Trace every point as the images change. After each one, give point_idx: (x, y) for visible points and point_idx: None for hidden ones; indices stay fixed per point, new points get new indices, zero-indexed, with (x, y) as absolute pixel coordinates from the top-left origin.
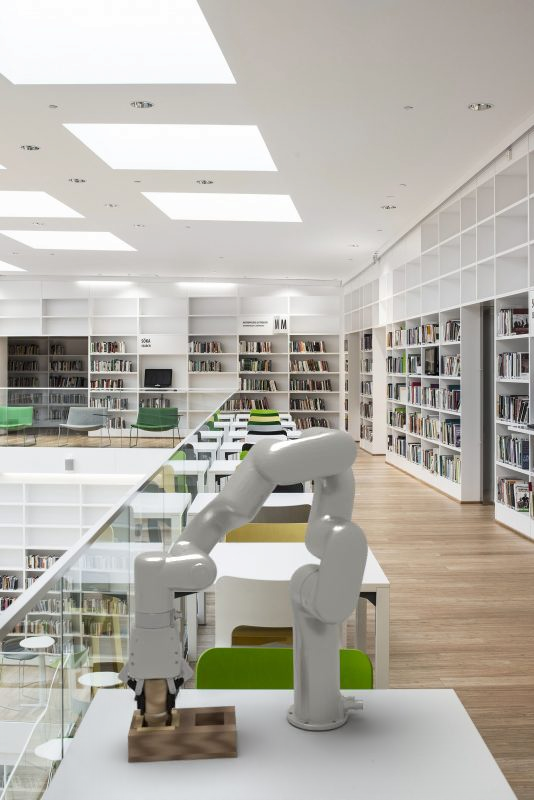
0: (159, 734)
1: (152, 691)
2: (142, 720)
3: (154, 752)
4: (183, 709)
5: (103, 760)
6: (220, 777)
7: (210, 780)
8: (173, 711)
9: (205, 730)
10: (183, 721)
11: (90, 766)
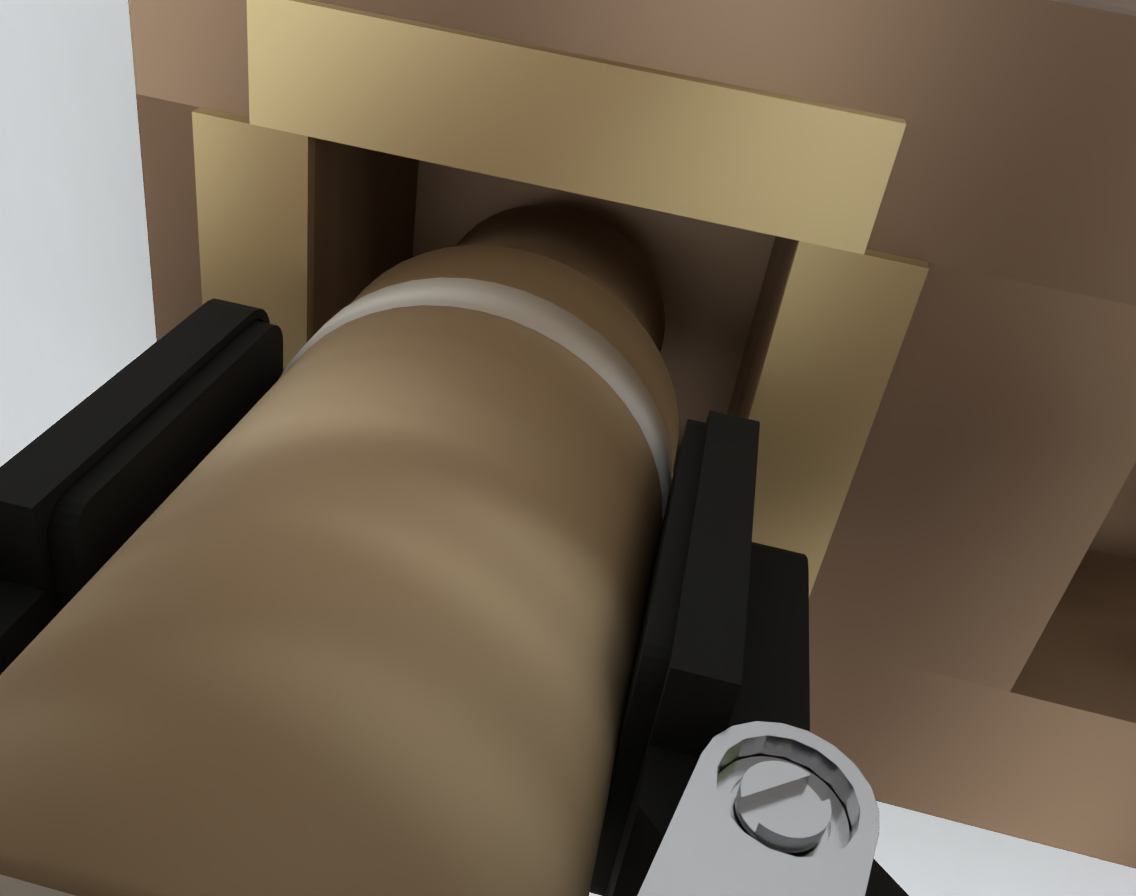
0: None
1: None
2: (303, 334)
3: None
4: (1056, 86)
5: (84, 347)
6: (1020, 885)
7: (929, 887)
8: (828, 170)
9: (1100, 825)
10: (901, 522)
11: (4, 410)
